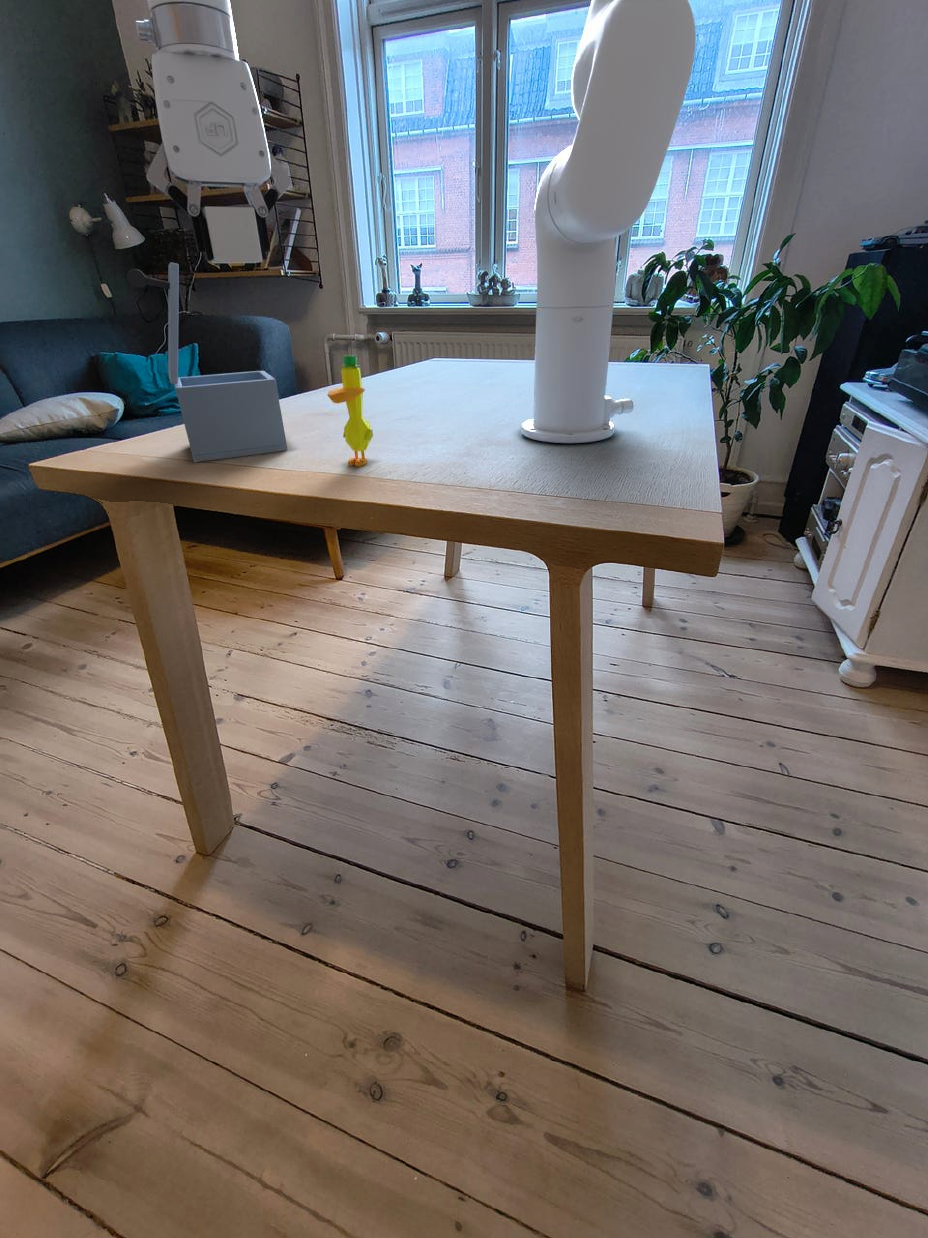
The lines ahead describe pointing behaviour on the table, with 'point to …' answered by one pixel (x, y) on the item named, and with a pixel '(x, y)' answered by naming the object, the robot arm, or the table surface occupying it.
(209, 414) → the grey storage bin
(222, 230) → the pale grey cube
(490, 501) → the table surface
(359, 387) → the toy figure
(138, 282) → the box lid
